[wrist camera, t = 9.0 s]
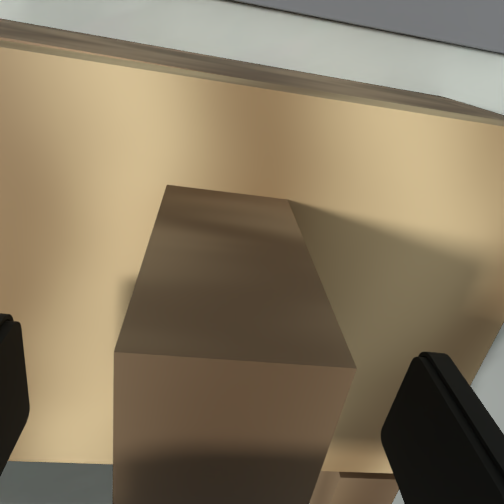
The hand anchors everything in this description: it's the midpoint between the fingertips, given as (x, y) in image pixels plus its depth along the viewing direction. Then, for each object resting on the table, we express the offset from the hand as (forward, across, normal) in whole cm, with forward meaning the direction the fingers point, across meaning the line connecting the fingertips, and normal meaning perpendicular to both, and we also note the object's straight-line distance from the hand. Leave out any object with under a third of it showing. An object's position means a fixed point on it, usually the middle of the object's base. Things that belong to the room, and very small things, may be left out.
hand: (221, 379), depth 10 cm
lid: (+4, 0, 0) cm, 4 cm away
